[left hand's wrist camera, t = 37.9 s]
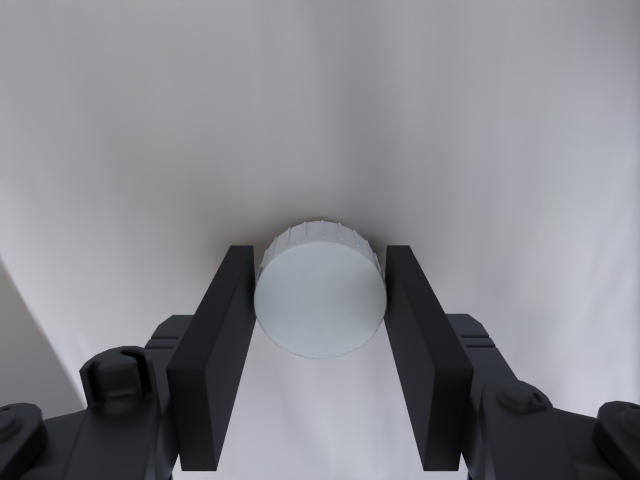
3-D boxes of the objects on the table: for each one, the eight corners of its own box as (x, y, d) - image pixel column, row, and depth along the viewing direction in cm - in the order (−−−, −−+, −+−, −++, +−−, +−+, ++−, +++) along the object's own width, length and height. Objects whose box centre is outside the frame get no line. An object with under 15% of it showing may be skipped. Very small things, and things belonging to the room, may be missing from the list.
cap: (388, 225, 15) (400, 247, 13) (369, 332, 16) (377, 365, 14) (263, 212, 14) (255, 232, 13) (256, 322, 16) (248, 355, 14)
